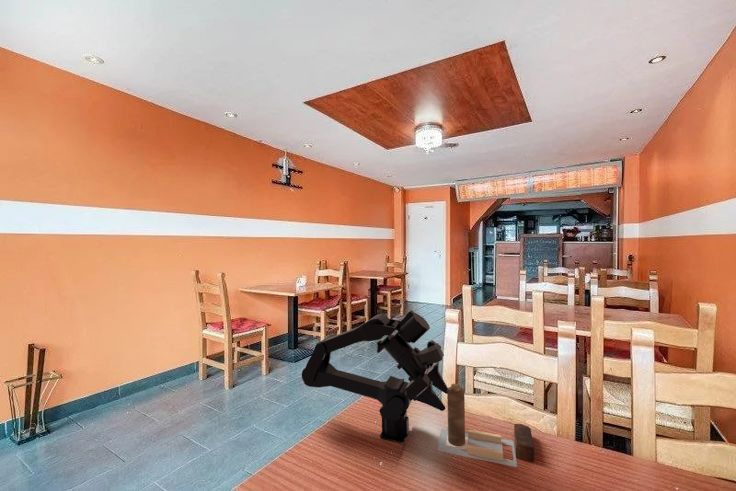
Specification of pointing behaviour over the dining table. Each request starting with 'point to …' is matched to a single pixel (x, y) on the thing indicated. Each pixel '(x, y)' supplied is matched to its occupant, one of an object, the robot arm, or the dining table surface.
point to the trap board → (478, 447)
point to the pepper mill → (456, 415)
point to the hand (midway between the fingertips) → (446, 400)
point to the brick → (523, 442)
